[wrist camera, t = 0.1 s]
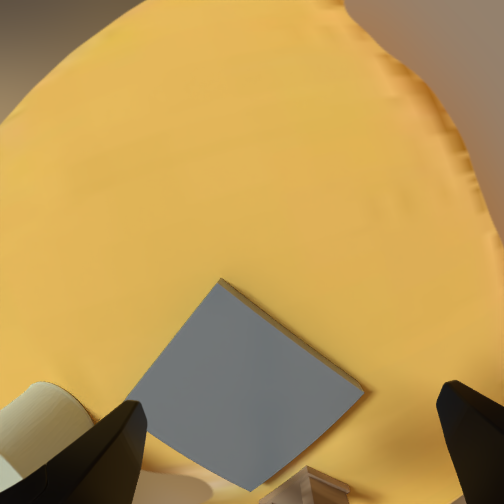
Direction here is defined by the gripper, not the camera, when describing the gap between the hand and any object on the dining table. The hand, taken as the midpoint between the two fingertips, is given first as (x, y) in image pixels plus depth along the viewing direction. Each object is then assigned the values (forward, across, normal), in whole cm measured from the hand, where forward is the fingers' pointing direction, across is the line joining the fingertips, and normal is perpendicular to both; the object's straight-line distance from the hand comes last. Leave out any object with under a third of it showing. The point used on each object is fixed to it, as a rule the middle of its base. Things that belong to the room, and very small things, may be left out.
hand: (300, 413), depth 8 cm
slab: (+13, +3, +12) cm, 18 cm away
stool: (+10, -3, +25) cm, 27 cm away
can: (+12, +22, +17) cm, 30 cm away
